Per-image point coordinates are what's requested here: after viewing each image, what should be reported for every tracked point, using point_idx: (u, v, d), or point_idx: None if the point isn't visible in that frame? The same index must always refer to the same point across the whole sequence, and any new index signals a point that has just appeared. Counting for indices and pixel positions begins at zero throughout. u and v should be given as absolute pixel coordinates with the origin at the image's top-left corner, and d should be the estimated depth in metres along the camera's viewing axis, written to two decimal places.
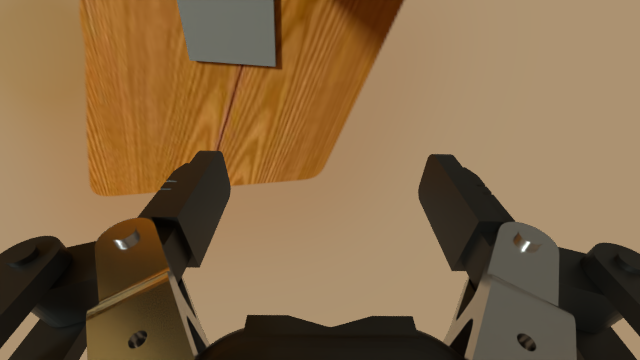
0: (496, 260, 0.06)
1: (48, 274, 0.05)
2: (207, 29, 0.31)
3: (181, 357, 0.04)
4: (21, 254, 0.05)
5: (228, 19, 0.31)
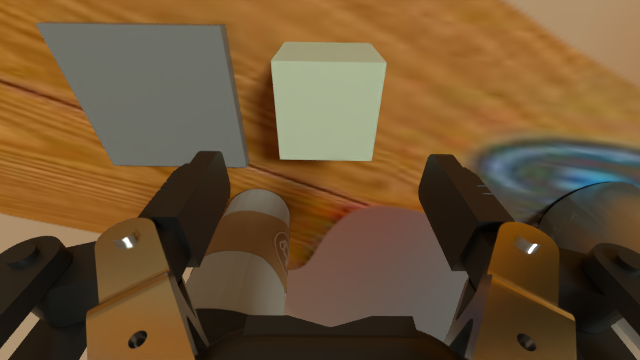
0: (496, 260, 0.06)
1: (48, 274, 0.05)
2: (112, 71, 0.19)
3: (181, 357, 0.04)
4: (21, 254, 0.05)
5: (144, 108, 0.20)
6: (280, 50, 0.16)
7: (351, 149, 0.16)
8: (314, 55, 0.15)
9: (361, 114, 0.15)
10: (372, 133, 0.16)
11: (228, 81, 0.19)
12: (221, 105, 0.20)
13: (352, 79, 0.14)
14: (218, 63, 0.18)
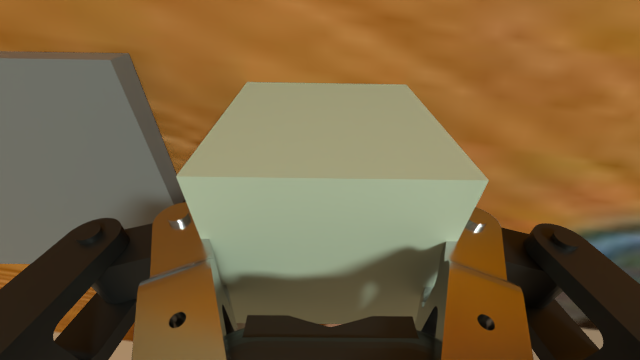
0: (450, 245, 0.06)
1: (113, 251, 0.06)
2: None
3: (213, 346, 0.04)
4: (88, 233, 0.06)
5: (11, 192, 0.12)
6: (225, 117, 0.07)
7: (377, 312, 0.08)
8: (298, 140, 0.06)
9: (405, 266, 0.07)
10: None
11: (147, 153, 0.10)
12: (143, 187, 0.11)
13: (392, 212, 0.05)
14: (122, 124, 0.10)
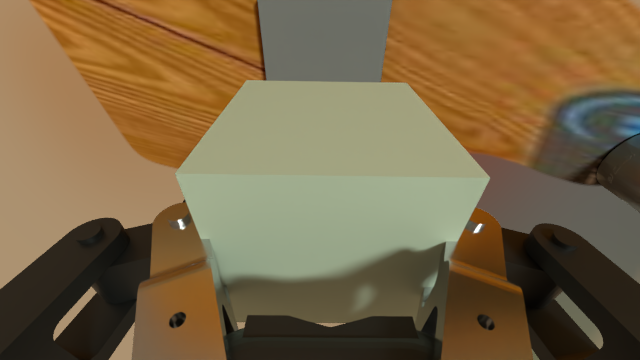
0: (450, 245, 0.06)
1: (113, 251, 0.06)
2: (299, 34, 0.25)
3: (213, 346, 0.04)
4: (88, 233, 0.06)
5: (313, 64, 0.26)
6: (224, 115, 0.07)
7: (377, 310, 0.08)
8: (297, 137, 0.06)
9: (406, 265, 0.07)
10: None
11: (384, 42, 0.25)
12: (372, 61, 0.26)
13: (393, 209, 0.05)
14: (381, 27, 0.24)
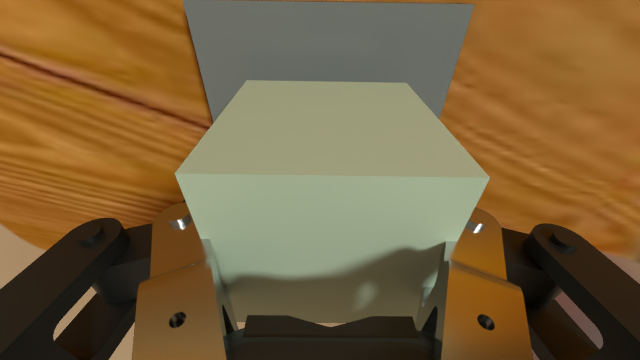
0: (450, 245, 0.06)
1: (113, 251, 0.06)
2: (278, 75, 0.12)
3: (213, 346, 0.04)
4: (88, 233, 0.06)
5: None
6: (224, 114, 0.07)
7: (377, 310, 0.08)
8: (297, 137, 0.06)
9: (406, 265, 0.07)
10: None
11: (445, 90, 0.13)
12: None
13: (392, 209, 0.05)
14: (443, 63, 0.12)
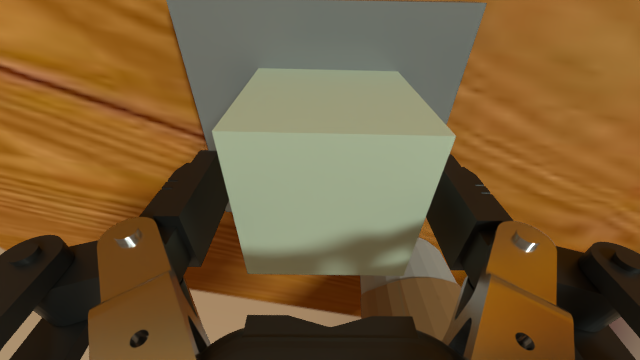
0: (494, 259, 0.06)
1: (51, 273, 0.05)
2: None
3: (182, 356, 0.04)
4: (23, 253, 0.05)
5: None
6: (243, 93, 0.08)
7: (370, 262, 0.09)
8: (305, 109, 0.08)
9: (393, 216, 0.08)
10: (410, 242, 0.09)
11: (452, 95, 0.12)
12: None
13: (381, 164, 0.07)
14: (451, 66, 0.11)
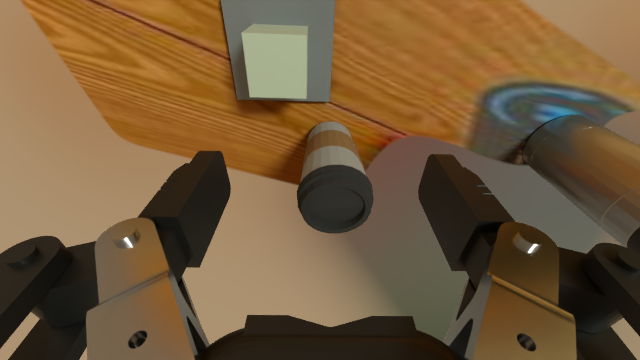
0: (496, 260, 0.06)
1: (48, 274, 0.05)
2: None
3: (181, 357, 0.04)
4: (21, 254, 0.05)
5: None
6: (248, 28, 0.26)
7: (293, 90, 0.27)
8: (268, 31, 0.25)
9: (296, 67, 0.26)
10: (304, 79, 0.26)
11: (331, 37, 0.29)
12: (323, 54, 0.30)
13: (288, 44, 0.24)
14: (328, 24, 0.29)
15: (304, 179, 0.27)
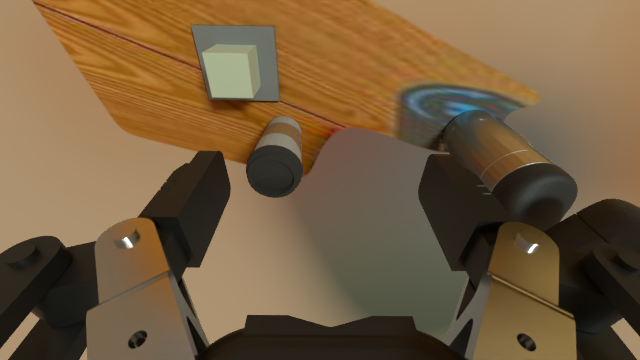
0: (496, 260, 0.06)
1: (48, 274, 0.05)
2: None
3: (181, 357, 0.04)
4: (21, 253, 0.05)
5: None
6: (209, 48, 0.36)
7: (242, 92, 0.37)
8: (222, 50, 0.36)
9: (243, 75, 0.36)
10: (250, 84, 0.37)
11: (274, 52, 0.40)
12: (270, 65, 0.41)
13: (235, 60, 0.35)
14: (270, 43, 0.39)
15: (250, 156, 0.37)
